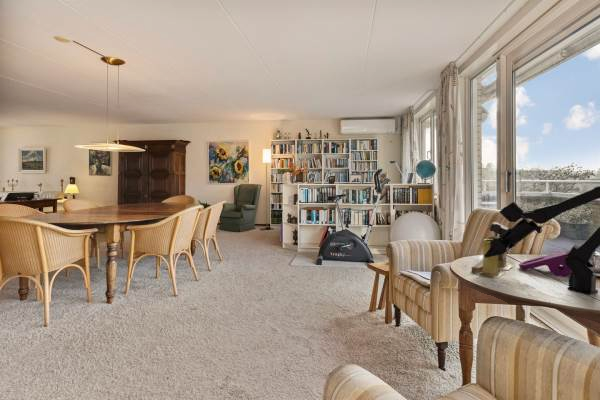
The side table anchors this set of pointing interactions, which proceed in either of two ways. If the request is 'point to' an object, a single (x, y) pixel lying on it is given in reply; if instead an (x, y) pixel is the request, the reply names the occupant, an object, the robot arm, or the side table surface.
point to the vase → (489, 260)
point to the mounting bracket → (549, 263)
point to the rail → (501, 266)
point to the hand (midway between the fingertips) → (488, 254)
